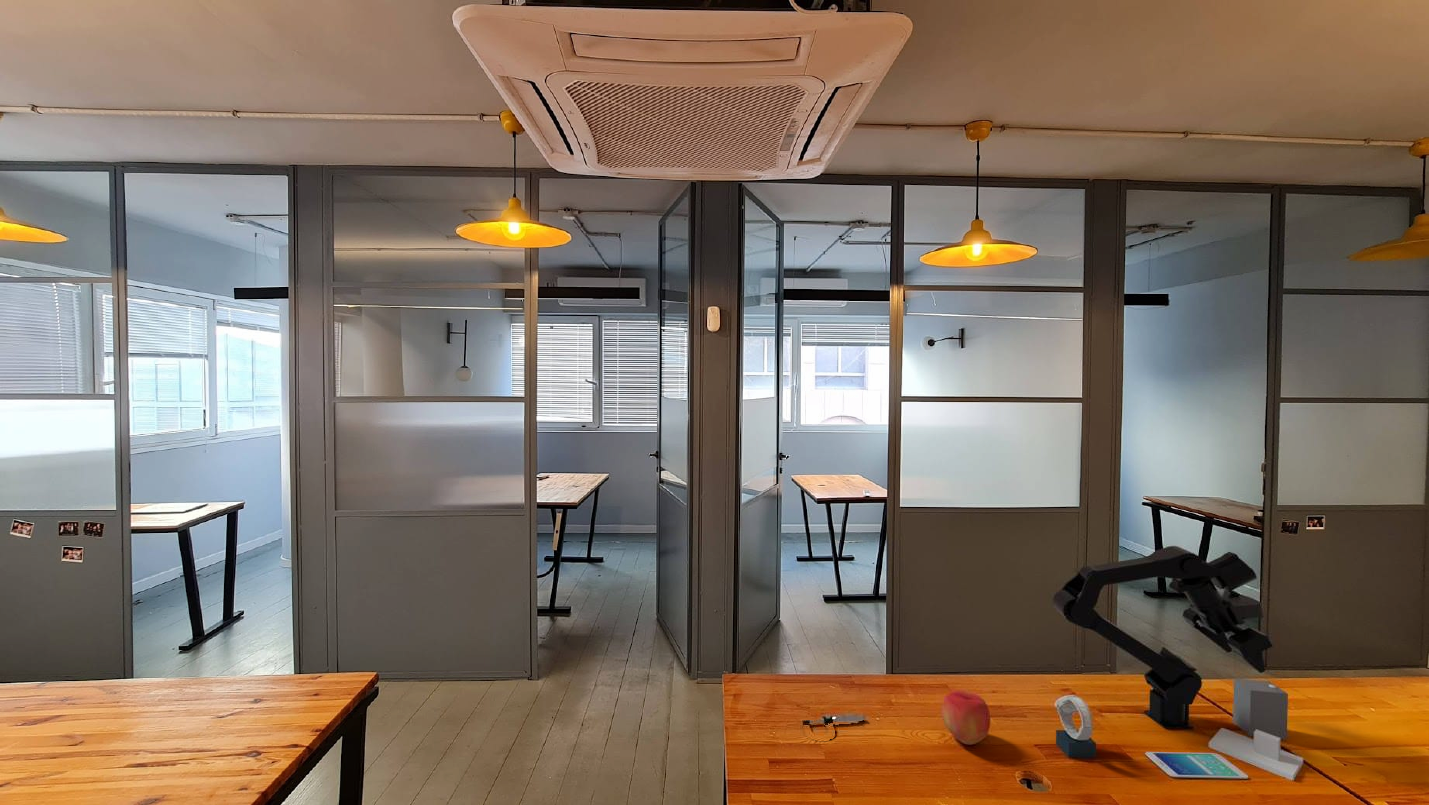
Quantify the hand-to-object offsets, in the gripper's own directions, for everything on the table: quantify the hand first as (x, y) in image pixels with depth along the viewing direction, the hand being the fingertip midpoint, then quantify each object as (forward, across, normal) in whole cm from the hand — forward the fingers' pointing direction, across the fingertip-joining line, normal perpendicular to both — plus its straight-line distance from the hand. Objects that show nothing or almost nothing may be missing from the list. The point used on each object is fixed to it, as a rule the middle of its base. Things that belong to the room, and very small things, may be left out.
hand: (1245, 661), depth 125 cm
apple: (-20, -14, +61) cm, 66 cm away
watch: (-9, -14, +43) cm, 46 cm away
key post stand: (+10, -11, +12) cm, 19 cm away
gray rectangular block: (+14, -1, +6) cm, 15 cm away
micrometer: (-34, -14, +85) cm, 92 cm away
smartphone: (+3, -16, +25) cm, 30 cm away
